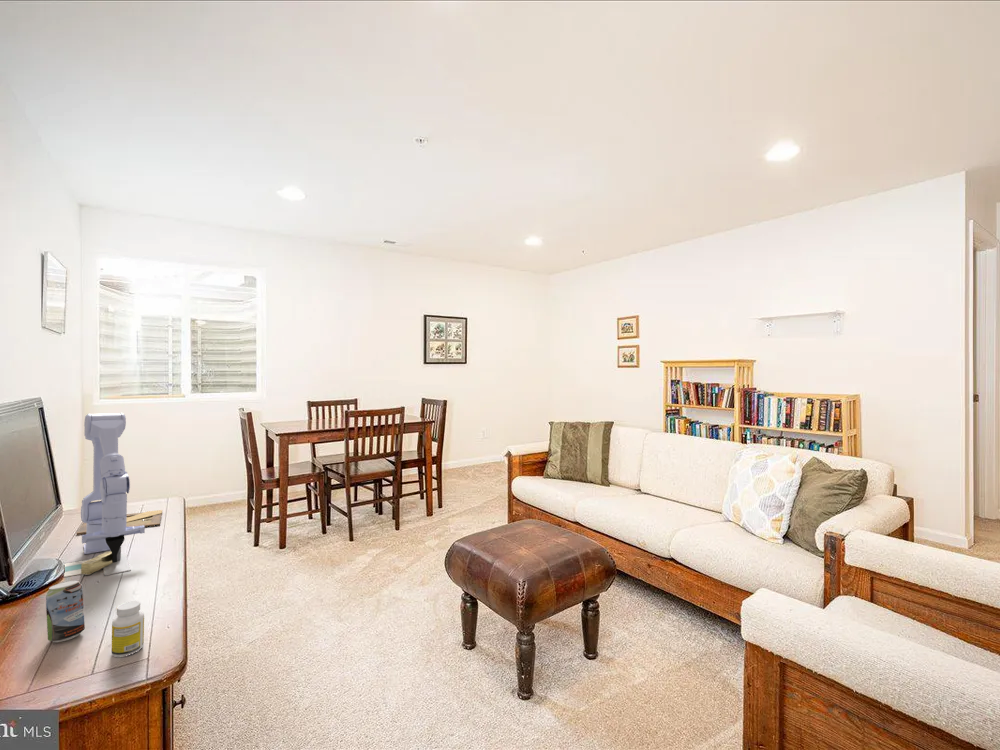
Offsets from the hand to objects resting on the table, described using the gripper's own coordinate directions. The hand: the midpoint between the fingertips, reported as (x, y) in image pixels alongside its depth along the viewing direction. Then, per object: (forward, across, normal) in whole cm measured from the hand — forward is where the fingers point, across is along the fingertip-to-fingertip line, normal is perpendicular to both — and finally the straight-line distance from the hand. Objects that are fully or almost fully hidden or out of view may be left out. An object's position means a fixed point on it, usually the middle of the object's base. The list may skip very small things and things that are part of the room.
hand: (113, 561), depth 142 cm
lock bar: (+1, -3, -1) cm, 4 cm away
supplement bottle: (+2, -1, -55) cm, 55 cm away
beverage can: (+2, -11, -41) cm, 42 cm away
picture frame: (+2, +5, +46) cm, 46 cm away
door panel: (+1, -4, +1) cm, 4 cm away
